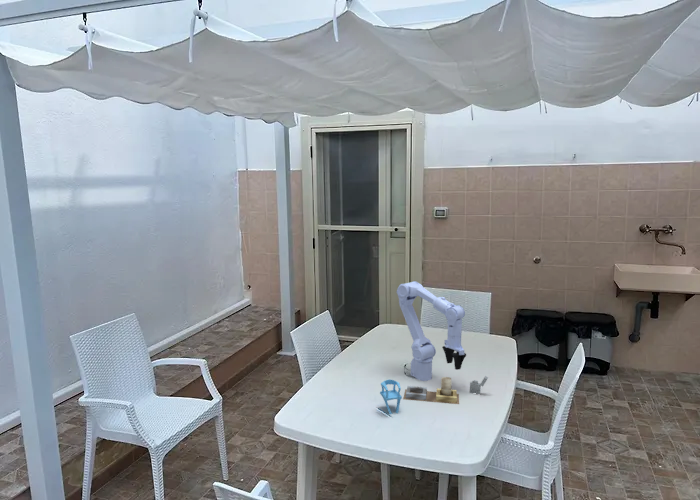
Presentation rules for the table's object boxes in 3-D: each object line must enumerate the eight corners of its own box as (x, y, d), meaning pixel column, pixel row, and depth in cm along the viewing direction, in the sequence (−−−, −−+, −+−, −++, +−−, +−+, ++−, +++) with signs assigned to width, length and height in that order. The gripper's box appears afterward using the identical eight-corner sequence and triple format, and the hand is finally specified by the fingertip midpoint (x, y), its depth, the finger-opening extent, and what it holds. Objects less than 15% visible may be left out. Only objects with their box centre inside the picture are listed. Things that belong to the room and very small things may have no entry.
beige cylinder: (438, 397, 203) (439, 378, 202) (446, 394, 205) (446, 376, 204) (445, 400, 200) (446, 381, 199) (453, 398, 202) (453, 379, 201)
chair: (384, 417, 187) (385, 387, 185) (377, 408, 195) (377, 378, 193) (404, 415, 189) (404, 385, 188) (395, 405, 197) (396, 376, 195)
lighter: (469, 392, 210) (470, 374, 209) (470, 391, 211) (471, 373, 210) (486, 396, 206) (487, 377, 205) (487, 394, 208) (488, 376, 207)
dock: (402, 401, 201) (403, 394, 200) (405, 391, 211) (405, 384, 210) (459, 406, 197) (459, 399, 196) (458, 396, 206) (459, 389, 206)
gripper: (438, 330, 216) (437, 361, 217) (453, 340, 202) (452, 373, 203) (453, 329, 217) (452, 359, 219) (469, 339, 204) (468, 371, 205)
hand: (453, 366), depth 211 cm, fingers open, 7 cm apart
